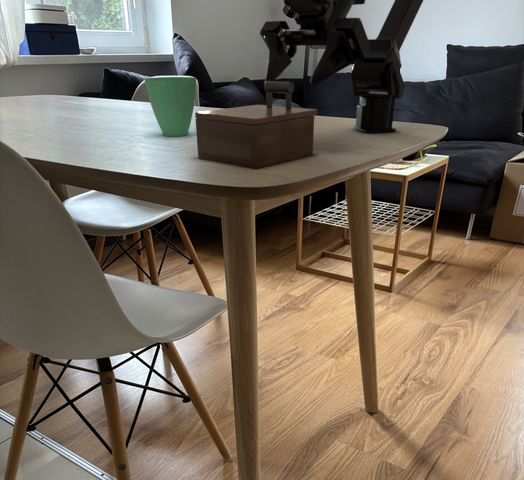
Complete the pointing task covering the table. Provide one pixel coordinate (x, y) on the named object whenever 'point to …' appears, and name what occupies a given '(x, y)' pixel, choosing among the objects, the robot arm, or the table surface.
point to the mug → (172, 103)
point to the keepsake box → (255, 141)
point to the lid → (261, 108)
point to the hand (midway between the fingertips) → (289, 83)
